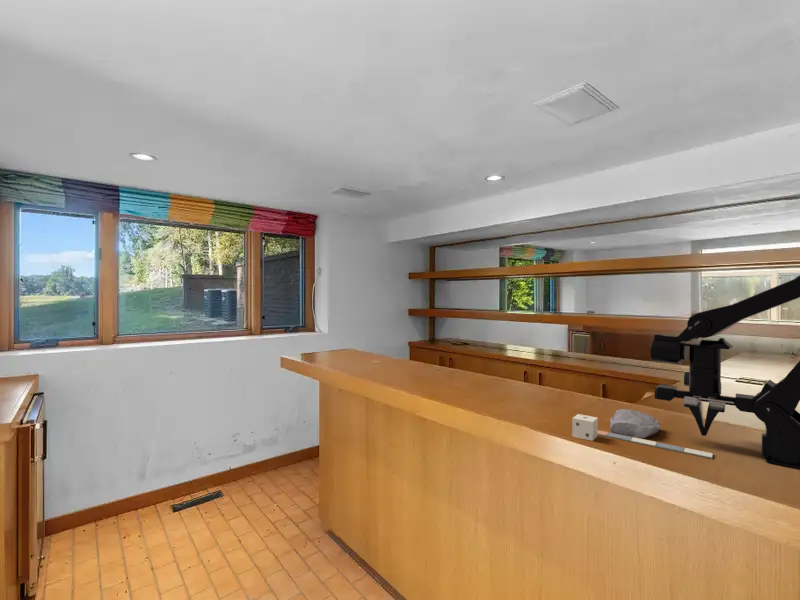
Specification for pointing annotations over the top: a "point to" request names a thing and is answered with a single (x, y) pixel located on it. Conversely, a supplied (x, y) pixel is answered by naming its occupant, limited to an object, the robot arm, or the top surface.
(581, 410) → the top surface
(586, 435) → the die
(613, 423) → the stone block
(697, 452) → the strip
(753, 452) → the top surface
